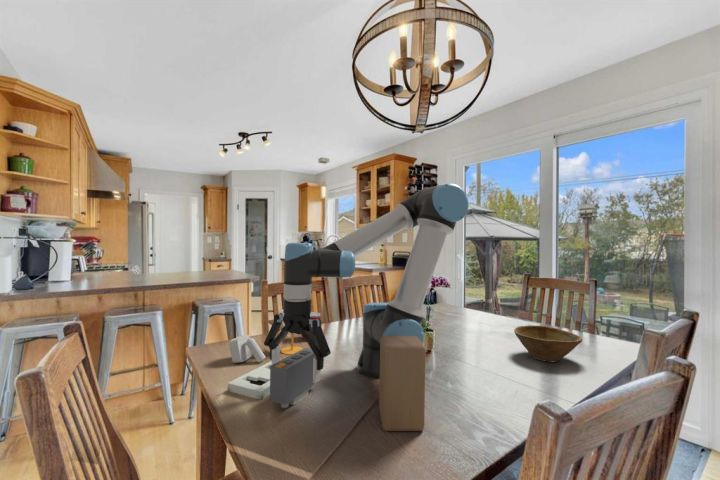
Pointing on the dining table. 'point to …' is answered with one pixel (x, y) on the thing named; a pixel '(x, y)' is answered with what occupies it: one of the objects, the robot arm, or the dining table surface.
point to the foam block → (299, 397)
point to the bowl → (547, 341)
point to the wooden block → (402, 383)
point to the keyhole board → (252, 390)
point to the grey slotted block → (291, 377)
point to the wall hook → (244, 349)
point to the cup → (291, 349)
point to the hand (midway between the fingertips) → (295, 376)
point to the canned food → (314, 316)
